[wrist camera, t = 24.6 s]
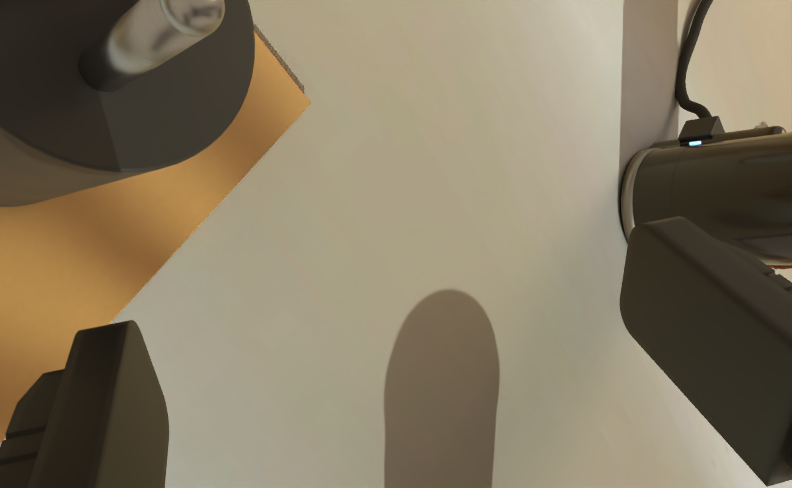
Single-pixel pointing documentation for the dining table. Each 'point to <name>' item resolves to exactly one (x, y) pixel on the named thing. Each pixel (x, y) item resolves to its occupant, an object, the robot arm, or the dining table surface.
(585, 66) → the dining table surface
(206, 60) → the cutlery holder
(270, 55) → the wooden board
